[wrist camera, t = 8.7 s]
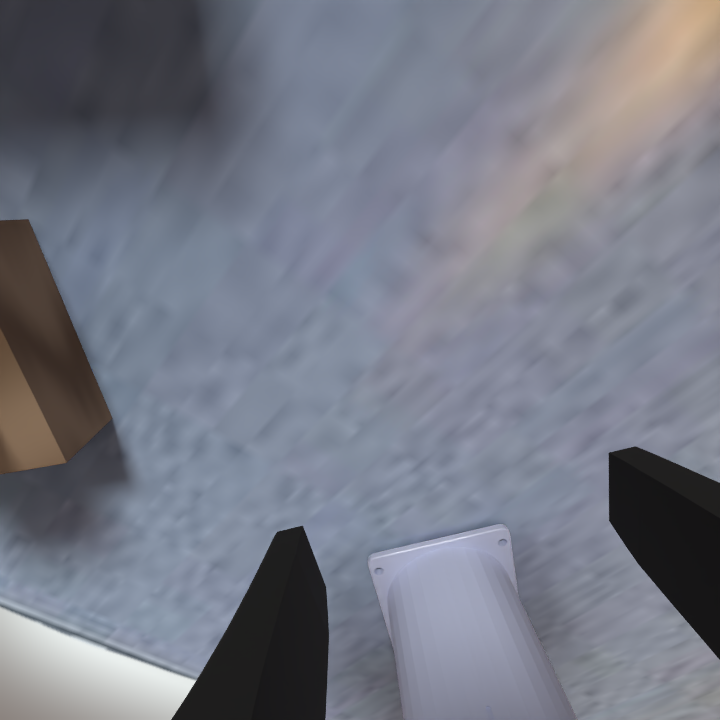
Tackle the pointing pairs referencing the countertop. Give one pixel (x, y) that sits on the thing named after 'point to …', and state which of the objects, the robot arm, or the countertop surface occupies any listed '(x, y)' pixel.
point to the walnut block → (40, 363)
